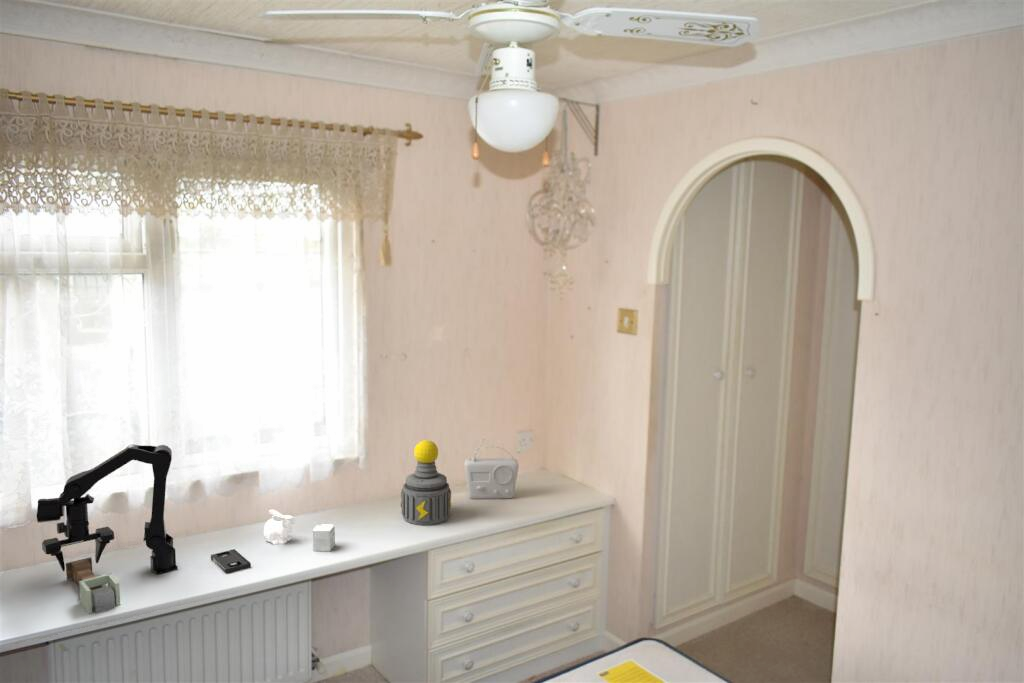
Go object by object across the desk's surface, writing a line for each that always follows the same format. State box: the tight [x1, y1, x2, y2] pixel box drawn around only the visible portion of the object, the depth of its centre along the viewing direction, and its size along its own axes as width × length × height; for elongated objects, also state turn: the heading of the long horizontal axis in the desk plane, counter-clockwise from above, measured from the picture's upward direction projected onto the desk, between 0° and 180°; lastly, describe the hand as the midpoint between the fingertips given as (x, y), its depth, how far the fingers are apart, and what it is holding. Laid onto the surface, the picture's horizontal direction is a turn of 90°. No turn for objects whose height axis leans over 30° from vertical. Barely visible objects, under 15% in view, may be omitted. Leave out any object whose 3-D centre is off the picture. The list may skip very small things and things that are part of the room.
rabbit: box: [263, 509, 296, 545], centre depth 274 cm, size 12×9×12 cm
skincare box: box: [312, 523, 336, 552], centre depth 269 cm, size 6×6×7 cm
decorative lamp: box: [400, 439, 452, 526], centre depth 298 cm, size 19×19×30 cm
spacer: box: [91, 585, 116, 614], centre depth 225 cm, size 5×5×5 cm
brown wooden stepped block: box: [65, 556, 101, 590], centre depth 238 cm, size 18×7×5 cm, turn 42°
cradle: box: [78, 573, 121, 614], centre depth 228 cm, size 8×11×7 cm
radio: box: [464, 438, 520, 500], centre depth 323 cm, size 22×8×25 cm, turn 95°
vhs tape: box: [210, 548, 252, 575], centre depth 256 cm, size 14×8×2 cm, turn 40°
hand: (80, 566), depth 242 cm, fingers open, 9 cm apart
